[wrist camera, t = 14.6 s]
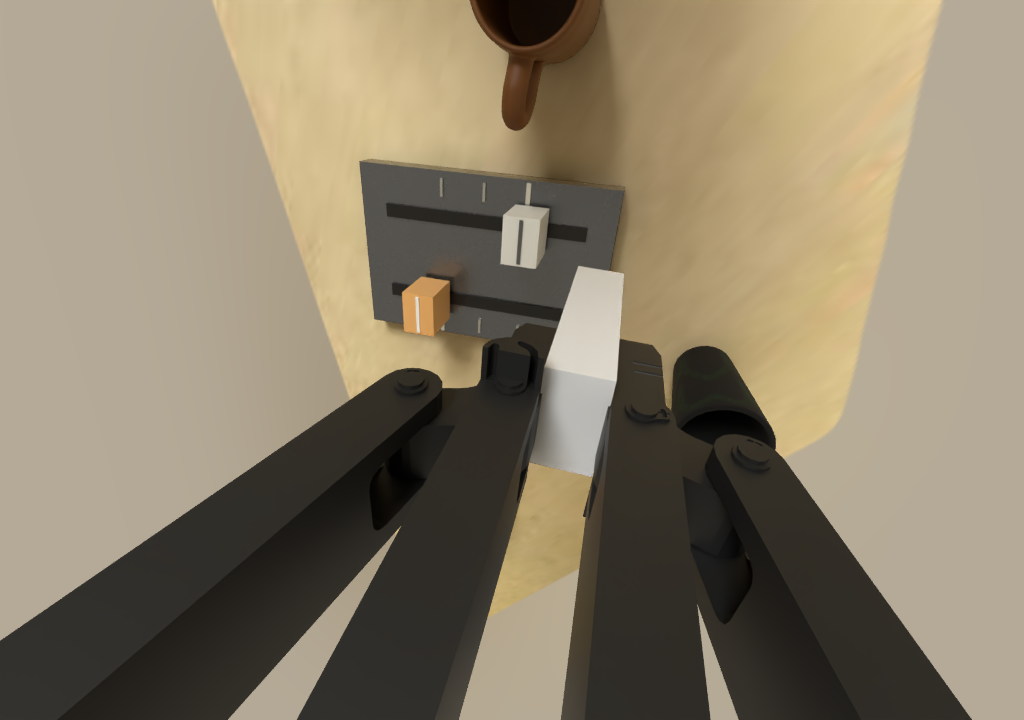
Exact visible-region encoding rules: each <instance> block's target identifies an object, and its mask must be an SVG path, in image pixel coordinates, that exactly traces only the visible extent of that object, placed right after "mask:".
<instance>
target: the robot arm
mask: <svg viewBox="0 0 1024 720" xmlns="http://www.w3.org/2000/svg"><path fill="white" fill-rule="evenodd" d="M623 282H624V273H618V272H612V271H606V270H600V269H594V268H588V267H582V266H578V269H577V272H576V274H575V277H574V280H573V283H572V286H571V289H570V292H569V295H568V298H567V301H566V304H565V307H564V310H563V313H562V316H561V319H560V322H559V325H558V328H551V327H546V326H541V325H536V324H530V323H525V324H524V325H522V326H520V327H519V328H517V329H515V331H514V333H513V335H512V337H505V338H497V339H494V340H491V341H488V342H487V343H486V344H485V345H484V346H483V351H482V366H481V379H480V381H479V383H478V385H477V386H474V387H469V388H442V381H441V379H440V378H439V376H438V375H436V374H434V373H433V372H431V371H428V370H424V369H420V368H406V369H401V370H396V371H394V372H392V373H390V374H387V375H386V376H384V377H383V378H381V379H380V380H378V381H377V382H375V383H374V384H373V385H371V386H370V387H368V388H367V389H365V390H364V391H362V392H361V393H359V394H358V395H357V396H355V397H354V398H352V399H351V400H349V401H348V402H347V403H345V404H344V405H342V406H341V407H339V408H338V409H336V410H335V411H333V412H332V413H330V414H329V415H328V416H326V417H325V418H323V419H322V420H320V421H319V422H317V423H316V424H314V425H313V426H312V427H310V428H309V429H307V430H306V431H304V432H303V433H301V434H300V435H299V436H297V437H296V438H294V439H293V440H291V441H290V442H288V443H287V444H285V445H284V446H283V447H281V448H280V449H278V450H277V451H275V452H274V453H272V454H271V455H269V456H268V457H267V458H265V459H264V460H262V461H261V462H259V463H258V464H256V465H255V466H254V467H252V468H251V469H249V470H248V471H247V472H245V473H243V474H242V475H240V476H239V477H238V478H236V479H235V480H233V481H232V482H230V483H229V484H227V485H226V486H225V487H223V488H221V489H220V490H219V491H217V492H216V493H214V494H213V495H211V496H210V497H208V498H207V499H206V500H204V501H203V502H201V503H200V504H198V505H197V506H195V507H194V508H192V509H191V510H190V511H188V512H187V513H185V514H184V515H182V516H181V517H179V518H178V519H176V520H175V521H174V522H172V523H171V524H169V525H168V526H166V527H165V528H163V529H162V530H161V531H159V532H158V533H156V534H155V535H153V536H152V537H150V538H149V539H147V540H146V541H144V542H143V543H142V544H140V545H139V546H137V547H136V548H134V549H133V550H132V551H130V552H128V553H127V554H126V555H124V556H123V557H121V558H120V559H118V560H117V561H115V562H114V563H113V564H111V565H110V566H108V567H107V568H105V569H104V570H102V571H101V572H99V573H98V574H97V575H95V576H94V577H92V578H91V579H89V580H88V581H86V582H85V583H84V584H82V585H81V586H79V587H78V588H76V589H75V590H73V591H72V592H70V593H69V594H68V595H66V596H65V597H63V598H62V599H60V600H59V601H57V602H56V603H54V604H53V605H51V606H50V607H49V608H48V609H46V610H44V611H43V612H42V613H40V614H38V615H37V616H36V617H34V618H33V619H31V620H30V621H28V622H27V623H25V624H24V625H22V626H21V627H20V628H18V629H17V630H15V631H14V632H12V633H11V634H10V635H8V636H6V637H5V638H4V639H2V640H1V641H0V720H228V719H229V717H230V716H231V715H232V714H233V713H234V712H235V711H236V710H237V709H238V707H239V706H240V705H241V704H242V703H243V702H244V701H245V699H246V698H247V697H248V696H249V695H250V694H251V693H252V692H253V691H254V689H256V687H257V686H258V685H259V684H260V683H261V682H262V681H263V679H264V678H265V677H266V676H267V675H268V674H269V673H270V672H271V671H272V669H273V668H274V667H275V666H276V665H277V664H278V663H279V662H280V660H281V659H282V658H283V657H284V656H285V655H286V654H287V653H288V652H289V650H290V649H291V648H292V647H293V646H294V645H295V644H296V643H297V642H298V640H299V639H300V638H301V637H302V636H303V635H304V634H305V633H306V631H307V630H308V629H309V628H310V627H311V626H312V625H313V624H314V622H315V621H316V620H317V619H318V618H319V617H320V616H321V615H322V613H323V612H324V611H325V610H326V609H327V608H328V607H329V606H330V605H331V604H332V602H333V601H334V600H335V599H336V598H337V597H338V596H339V594H340V593H341V592H342V591H343V590H344V589H345V588H346V587H347V586H348V584H349V583H350V582H351V581H352V580H353V579H354V578H355V577H356V576H357V574H358V573H359V572H360V571H361V570H362V569H363V568H364V566H365V565H366V564H367V563H368V562H369V561H370V560H371V559H372V558H373V557H374V555H375V554H376V553H377V552H378V551H379V550H380V548H382V546H383V545H384V544H385V543H386V542H387V541H388V540H389V539H390V537H391V536H392V535H393V534H394V533H395V532H396V531H397V530H398V529H399V527H400V526H401V525H402V526H401V528H400V529H399V531H398V533H397V535H396V537H395V539H394V541H393V542H392V544H391V546H390V548H389V550H388V552H387V554H386V555H385V557H384V559H383V561H382V563H381V565H380V566H379V568H378V570H377V572H376V574H375V576H374V578H373V580H372V581H371V583H370V585H369V587H368V589H367V591H366V592H365V594H364V596H363V598H362V600H361V602H360V604H359V605H358V608H357V609H356V611H355V613H354V615H353V617H352V618H351V620H350V622H349V624H348V626H347V628H346V630H345V631H344V633H343V635H342V637H341V639H340V641H339V643H338V644H337V646H336V648H335V650H334V652H333V654H332V656H331V657H330V659H329V661H328V663H327V665H326V667H325V668H324V671H323V672H322V674H321V676H320V678H319V680H318V681H317V683H316V685H315V687H314V689H313V691H312V692H311V694H310V696H309V698H308V700H307V702H306V704H305V706H304V707H303V709H302V711H301V713H300V715H299V717H298V719H297V720H459V716H460V713H461V709H462V706H463V702H464V699H465V695H466V691H467V688H468V684H469V681H470V677H471V674H472V670H473V667H474V663H475V659H476V656H477V652H478V649H479V645H480V641H481V638H482V635H483V631H484V627H485V624H486V620H487V617H488V613H489V610H490V606H491V603H492V599H493V596H494V592H495V589H496V585H497V581H498V578H499V574H500V571H501V567H502V564H503V560H504V557H505V553H506V549H507V546H508V542H509V539H510V535H511V532H512V528H513V525H514V521H515V518H516V514H517V510H518V507H519V503H520V500H521V496H522V493H523V489H524V486H525V482H526V478H527V472H528V465H529V461H530V463H534V464H538V465H543V466H547V467H551V468H555V469H560V470H564V471H568V472H572V473H576V474H581V475H585V476H589V477H592V475H593V479H592V483H591V487H590V491H589V495H588V499H587V502H586V506H585V510H584V514H583V517H586V520H585V528H584V536H583V544H582V553H581V561H580V569H579V577H578V586H577V593H576V601H575V609H574V617H573V626H572V634H571V642H570V650H569V658H568V666H567V674H566V682H565V691H564V699H563V707H562V715H561V720H710V711H709V703H708V694H707V685H706V677H705V668H704V659H703V651H702V642H701V634H700V625H699V616H698V607H699V610H700V612H701V615H702V618H703V621H704V623H705V626H706V629H707V632H708V635H709V638H710V640H711V643H712V646H713V649H714V651H715V654H716V657H717V660H718V663H719V665H720V668H721V671H722V674H723V677H724V679H725V682H726V685H727V688H728V691H729V694H730V696H731V699H732V702H733V705H734V707H735V710H736V713H737V716H738V719H739V720H972V719H971V718H970V716H969V715H968V714H967V712H966V711H965V710H964V708H963V707H962V705H961V704H960V703H959V701H958V700H957V698H956V697H955V696H954V694H953V693H952V691H951V690H950V689H949V687H948V686H947V685H946V683H945V682H944V680H943V679H942V678H941V676H940V675H939V673H938V672H937V671H936V669H935V668H934V666H933V665H932V664H931V663H930V661H929V660H928V658H927V657H926V655H925V654H924V653H923V651H922V650H921V649H920V647H919V646H918V644H917V643H916V642H915V640H914V639H913V637H912V636H911V635H910V633H909V632H908V630H907V629H906V628H905V626H904V625H903V624H902V622H901V621H900V619H899V618H898V617H897V615H896V614H895V613H894V611H893V610H892V608H891V607H890V606H889V604H888V603H887V601H886V600H885V599H884V597H883V596H882V594H881V593H880V592H879V590H878V589H877V588H876V586H875V585H874V584H873V582H872V581H871V579H870V578H869V576H868V575H867V574H866V572H865V571H864V570H863V568H862V567H861V566H860V564H859V562H858V561H857V560H856V558H855V557H854V556H853V554H852V553H851V552H850V550H849V549H848V547H847V546H846V544H845V543H844V542H843V540H842V539H841V538H840V536H839V535H838V533H837V532H836V531H835V529H834V528H833V526H832V525H831V524H830V522H829V521H828V519H827V518H826V517H825V515H824V514H823V513H822V511H821V510H820V508H819V507H818V506H817V504H816V503H815V501H814V500H813V499H812V497H811V496H810V495H809V493H808V492H807V490H806V489H805V488H804V486H803V485H802V483H801V482H800V481H799V479H798V478H797V477H796V475H795V474H794V472H793V471H792V470H791V468H790V467H789V465H788V464H787V463H786V461H785V460H784V459H783V458H782V457H781V456H780V455H779V454H778V453H777V452H776V451H775V450H774V449H772V448H771V447H769V446H768V445H766V444H765V443H763V442H761V441H759V440H757V439H754V438H751V437H748V436H743V435H737V434H731V435H723V436H721V437H720V438H718V439H716V442H715V444H714V446H713V445H711V444H708V443H706V442H704V441H701V440H699V439H697V438H694V437H692V436H691V435H689V434H687V433H685V432H684V431H682V430H681V429H679V428H678V427H677V425H676V419H675V417H674V414H673V412H672V411H671V410H670V409H669V408H668V407H667V406H666V404H665V393H664V382H663V378H662V377H663V372H662V361H661V355H660V354H659V353H658V352H657V350H656V349H655V348H654V347H653V345H648V344H643V343H638V342H633V341H627V340H622V339H620V325H621V311H622V297H623ZM530 457H531V458H530ZM593 471H594V474H593ZM697 604H698V607H697Z"/></svg>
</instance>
